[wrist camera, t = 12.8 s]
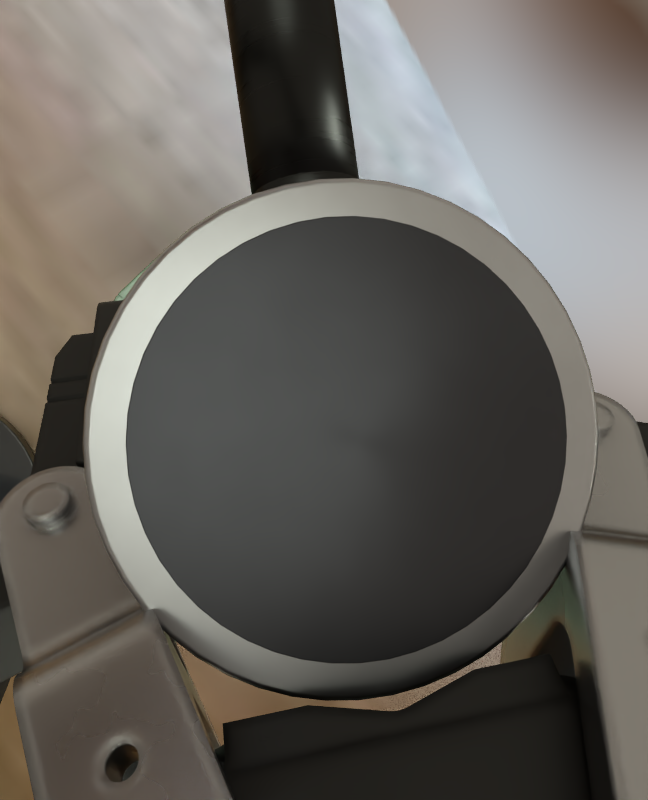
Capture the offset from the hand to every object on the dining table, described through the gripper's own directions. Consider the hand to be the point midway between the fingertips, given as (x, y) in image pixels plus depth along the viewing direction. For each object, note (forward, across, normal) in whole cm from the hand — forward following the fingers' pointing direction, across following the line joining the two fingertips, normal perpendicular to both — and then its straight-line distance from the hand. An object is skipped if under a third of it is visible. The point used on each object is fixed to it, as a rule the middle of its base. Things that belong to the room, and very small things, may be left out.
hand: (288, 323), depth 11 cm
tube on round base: (+4, 0, +2) cm, 5 cm away
